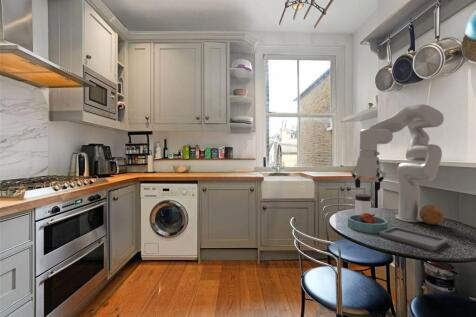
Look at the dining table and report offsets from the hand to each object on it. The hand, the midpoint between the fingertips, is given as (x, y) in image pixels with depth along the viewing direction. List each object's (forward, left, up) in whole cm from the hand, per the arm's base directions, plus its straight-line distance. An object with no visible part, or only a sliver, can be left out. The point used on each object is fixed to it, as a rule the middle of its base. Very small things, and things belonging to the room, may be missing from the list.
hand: (367, 188), depth 121 cm
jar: (-19, -13, -19) cm, 30 cm away
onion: (-32, +16, -19) cm, 41 cm away
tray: (+1, +20, -19) cm, 28 cm away
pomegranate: (0, 0, -19) cm, 19 cm away
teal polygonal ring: (0, 0, -19) cm, 19 cm away
